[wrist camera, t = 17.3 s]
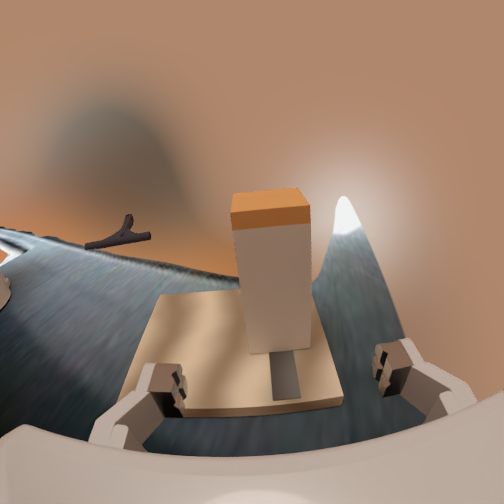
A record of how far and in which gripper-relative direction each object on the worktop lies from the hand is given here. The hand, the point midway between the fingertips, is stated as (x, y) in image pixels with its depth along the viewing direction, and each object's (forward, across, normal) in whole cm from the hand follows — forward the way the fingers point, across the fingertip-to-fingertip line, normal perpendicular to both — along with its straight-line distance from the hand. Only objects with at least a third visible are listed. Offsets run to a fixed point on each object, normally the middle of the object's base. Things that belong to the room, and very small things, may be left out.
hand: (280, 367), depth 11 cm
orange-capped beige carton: (+12, -1, +8) cm, 15 cm away
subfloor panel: (+12, +4, +10) cm, 16 cm away
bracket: (+49, +29, +11) cm, 58 cm away
